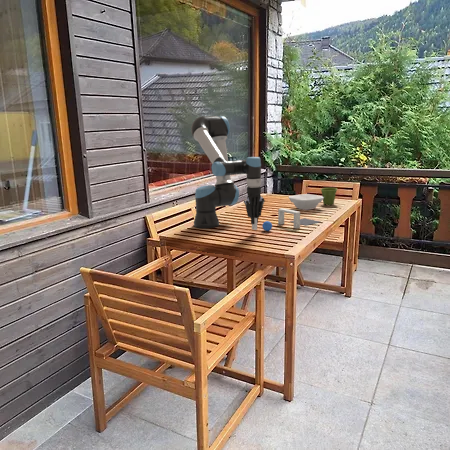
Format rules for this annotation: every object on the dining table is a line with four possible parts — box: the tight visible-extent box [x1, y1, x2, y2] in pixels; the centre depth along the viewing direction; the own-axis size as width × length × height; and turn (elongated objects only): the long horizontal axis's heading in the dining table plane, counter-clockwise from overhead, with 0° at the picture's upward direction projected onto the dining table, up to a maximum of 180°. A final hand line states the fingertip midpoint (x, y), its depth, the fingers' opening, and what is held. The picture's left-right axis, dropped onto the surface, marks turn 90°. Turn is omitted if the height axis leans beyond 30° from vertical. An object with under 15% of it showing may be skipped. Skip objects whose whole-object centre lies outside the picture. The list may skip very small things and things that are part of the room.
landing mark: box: [289, 217, 321, 226], centre depth 249 cm, size 13×13×1 cm
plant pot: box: [320, 187, 338, 206], centre depth 298 cm, size 12×12×11 cm
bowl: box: [288, 193, 324, 211], centre depth 285 cm, size 21×21×9 cm
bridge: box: [277, 207, 301, 229], centre depth 240 cm, size 3×14×9 cm, turn 37°
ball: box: [262, 220, 273, 232], centre depth 230 cm, size 6×6×6 cm
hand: (254, 229), depth 225 cm, fingers closed
